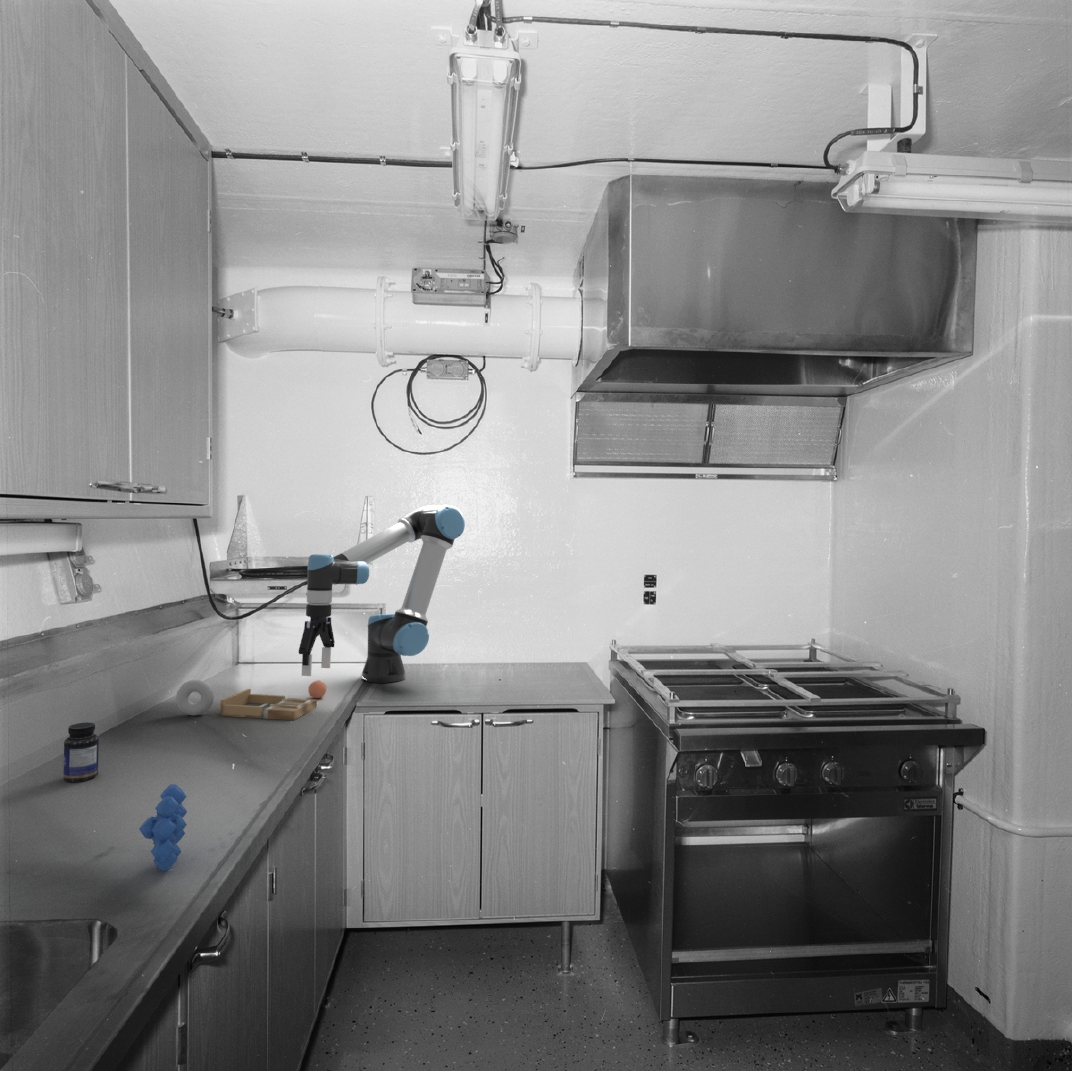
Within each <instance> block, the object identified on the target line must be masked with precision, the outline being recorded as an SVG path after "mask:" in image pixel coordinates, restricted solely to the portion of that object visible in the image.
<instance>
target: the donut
mask: <svg viewBox="0 0 1072 1071" xmlns="http://www.w3.org/2000/svg"><path fill="white" fill-rule="evenodd" d="M192 693H198V694H199V695H200V700H199V701H198V702H192V700H190V696H191V695H192ZM214 699H215V693H214V689H213V687H212V686H211V685H210V684H209V683H208V682H206V681H204V680H201V679H192V680H188V681H186V682H184V683H183V684H182V685H181V686H180V687H179V689H178V690H177V692H176V696H175V702H176V705H177V707H178V709H179V710H180V711H181V712H182V713H184V714H185V715H188V716H199V715H202V714H205V713H207V711H209V710H210V709H211V707H212V705H213V704H214V701H215V700H214Z"/></svg>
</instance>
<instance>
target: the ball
mask: <svg viewBox="0 0 1072 1071" xmlns="http://www.w3.org/2000/svg"><path fill="white" fill-rule="evenodd" d="M326 693H327V686H326V683H325V682H324V681H321V680H315V681H312V682H311V683H310V684H309V686H308V694H309V696H310V697H311V698H313V699H320V698H323V696H325V695H326Z"/></svg>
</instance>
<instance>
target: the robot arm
mask: <svg viewBox="0 0 1072 1071" xmlns="http://www.w3.org/2000/svg"><path fill="white" fill-rule="evenodd" d="M461 511H462V510H460V509H459V508H458V507H456V506H453V505H448V504H442V505H441V504H440V505H425V506H421V507H419V508H418V509H415V510H414V511H412V512H410V513H408V514H407V515H404V516H402V517H401V518H398V520H397V523H396V524H394V525H392V526H389V527H387V529H384V530H382V531H380V532H379V533H376V534H374V535H373V536H371V537H368V538H367V539H365V540H363V541H361V542H360V543H358V544H356V545H354V546H352V547H350V548H348V549H347V550H344V551H343V552H340V553H339V554H337V555H335V556H333V555H332V554H319V553H317V554H316V553H315V554H310V555H309V556H308V561H307V568H306V569H307V581H306V582H307V588H306V589H307V590H306V593H305V595H306V603H307V604H306V606H305V607H306V608H305V616H307V617H308V618H309V617H310V620H309V621H308V620H307V621H306V620H305V621H304V628H303V632H302V636H301V640H300V644H299V648H298V654H299V655H302V656H301V657H302V659H301V676H302V677H311V676H312V664H313V661H312V660H313V654H311V653H312V651H313V648H314V645H315V642H316V640H317V637H319V638H320V640H321V643H322V645H323V647H321V662H320V663H321V664H320V665H321V667H320V669H321V668H322V669H331V660H332V659H331V656H332V648H335V644H336V643H335V637H334V631H333V626H332V617H331V616H332V604H331V603H333V585H334V586H335V585H356V586H358V585H363V584H366V582H368V580H369V577H370V567H369V565H368V564H370V563H372V562H373V561H375V560H377V559H379V558H380V557H383V556H384V555H386V554H388V553H389V552H391V551H393V550H395V549H397V548H399V547H401V546H402V545H404V544H406V543H411V544H412V543H414V542H416V541H418V540H421V541H422V546H421V548H420V552H419V554H418V557H417V561H416V563H415V566H414V570H413V573H412V576H411V578H410V581H409V584H408V587H407V590H406V593H405V596H404V600H403V601H402V605H401V607H400V608H399V609H397V610H395V612H394V613H385V614H382V613H381V614H372V615H370V616H369V617H368V623H367V658H366V661H365V664H364V667H363V669H362V672H361V677H362V676H363V677H364V678H366V679H367V681H366V682H369V683H375V684H376V683H377V684H378V683H380V684H381V683H384V684H385V683H394V682H400V681H403V680H405V679H406V669H405V666H404V662H403V660H402V656H404V657H414V656H416V655H418V654H421V653H422V652H423V651H424V650H425V649H426V647H427V645H428V644H429V640H430V639H429V638H430V633H429V630H428V627H427V626H428V623H429V620H428V618H427V615H426V614H427V611H428V608H429V606H430V604H431V603H430V602H431V598H432V596H433V593H434V589H435V587H436V584H437V580H438V578H439V575H440V571H441V568H442V566H443V562H444V558H445V556H446V553H447V551H448V550H449V549H451V548H453V545H454V543H455V539H458V538H459V537H461V535H462V534H463V533H464V531H465V526H466V520H465V517H464V515H463V513H462V512H461Z"/></svg>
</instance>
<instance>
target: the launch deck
mask: <svg viewBox="0 0 1072 1071" xmlns="http://www.w3.org/2000/svg"><path fill="white" fill-rule="evenodd" d="M316 707H318V699H316V698H313V699H311V698H293V697H292V698H291V697H288V698H285V699H282V701H281V702H279V703H277V704H270V707H269V708H266V709H264V718H263V719H264V720H265V719H267V720H282V721H283V720H285V721H296V720H297V719H299V718H301V717H303V716H304V715H303V714H305V713H306V714H308V713H310V712H312V711H314V710H315V709H317V708H316ZM313 709H314V710H313ZM311 710H312V711H311ZM307 712H308V713H307ZM306 714H305V715H306ZM302 715H303V716H302ZM300 716H301V717H300ZM295 719H296V720H295Z"/></svg>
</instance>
